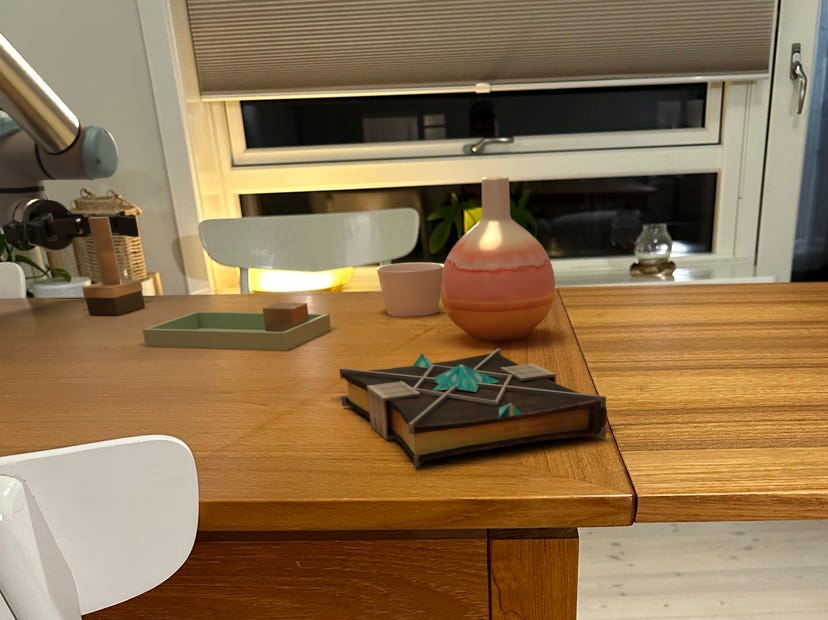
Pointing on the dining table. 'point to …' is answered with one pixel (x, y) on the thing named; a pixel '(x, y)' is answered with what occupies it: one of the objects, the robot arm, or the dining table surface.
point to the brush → (110, 277)
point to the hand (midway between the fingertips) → (90, 231)
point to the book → (471, 405)
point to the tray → (232, 332)
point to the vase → (497, 274)
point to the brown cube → (284, 316)
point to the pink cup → (411, 288)
